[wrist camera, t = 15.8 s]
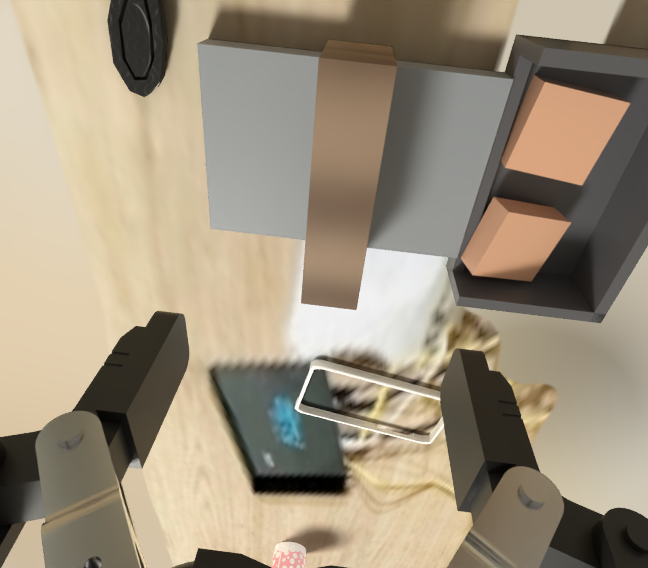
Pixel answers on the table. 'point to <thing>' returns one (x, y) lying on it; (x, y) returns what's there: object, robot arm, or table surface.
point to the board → (297, 140)
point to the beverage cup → (289, 555)
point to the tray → (571, 190)
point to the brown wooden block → (345, 167)
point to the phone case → (375, 379)
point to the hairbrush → (138, 42)
